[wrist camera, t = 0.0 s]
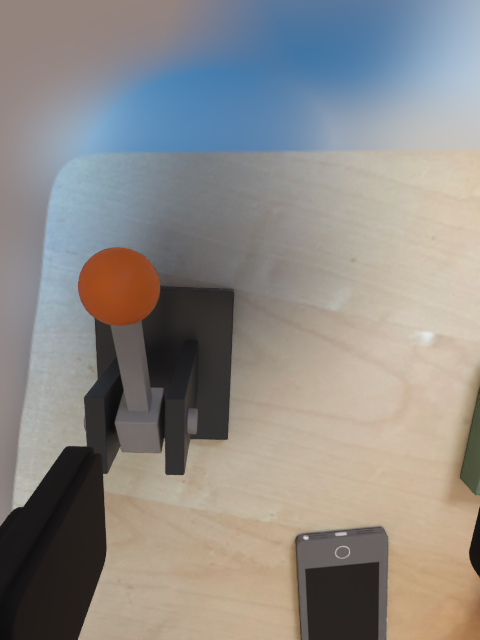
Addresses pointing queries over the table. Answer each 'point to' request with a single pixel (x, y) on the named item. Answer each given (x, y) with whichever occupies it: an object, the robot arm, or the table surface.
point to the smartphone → (343, 584)
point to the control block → (473, 455)
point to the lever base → (171, 373)
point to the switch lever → (128, 339)
